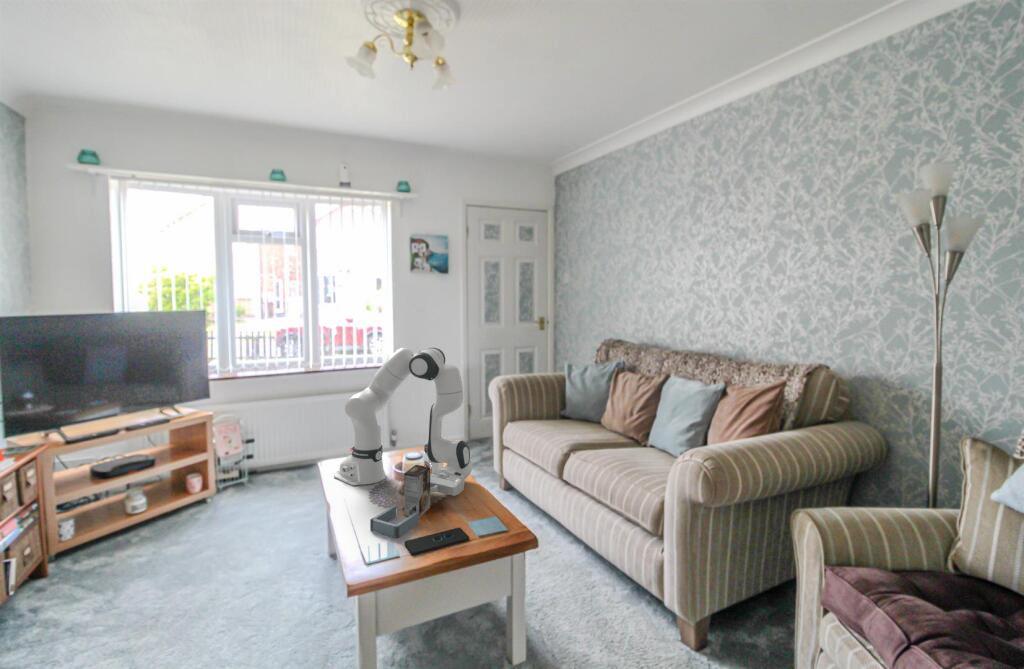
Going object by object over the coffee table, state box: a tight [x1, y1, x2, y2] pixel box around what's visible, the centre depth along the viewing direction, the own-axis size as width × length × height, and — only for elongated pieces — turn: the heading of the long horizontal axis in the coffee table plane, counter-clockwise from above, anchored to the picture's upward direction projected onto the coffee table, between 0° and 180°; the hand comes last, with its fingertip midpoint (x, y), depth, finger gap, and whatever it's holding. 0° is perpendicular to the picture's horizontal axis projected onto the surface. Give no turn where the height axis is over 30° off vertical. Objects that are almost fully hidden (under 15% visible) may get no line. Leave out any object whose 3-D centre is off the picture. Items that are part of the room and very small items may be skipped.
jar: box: [422, 443, 444, 475], centre depth 220 cm, size 9×8×12 cm
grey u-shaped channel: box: [369, 505, 420, 540], centre depth 169 cm, size 11×12×4 cm
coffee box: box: [404, 464, 431, 518], centre depth 181 cm, size 9×6×16 cm
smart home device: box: [403, 527, 470, 557], centre depth 160 cm, size 8×2×20 cm
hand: (425, 491), depth 185 cm, fingers closed
